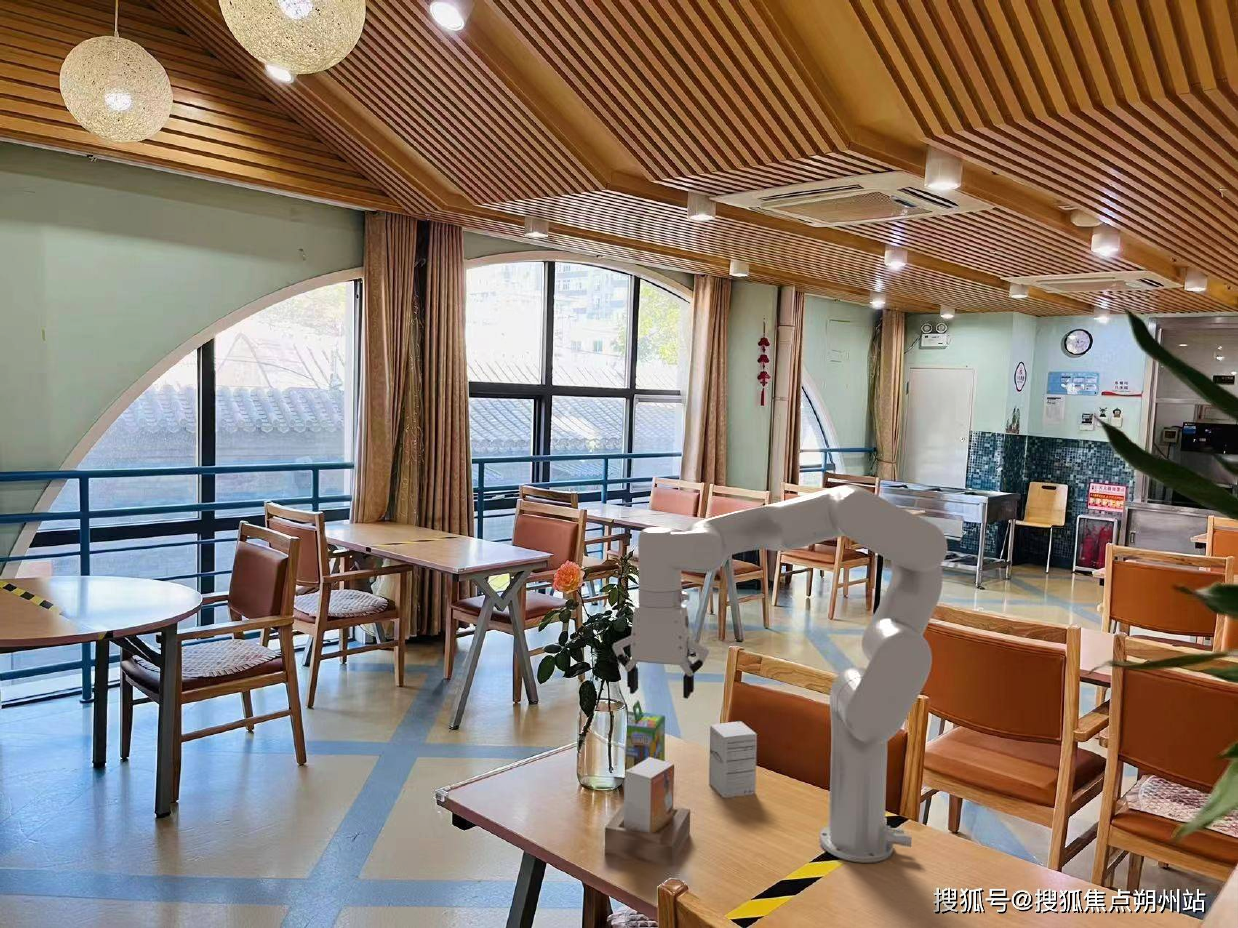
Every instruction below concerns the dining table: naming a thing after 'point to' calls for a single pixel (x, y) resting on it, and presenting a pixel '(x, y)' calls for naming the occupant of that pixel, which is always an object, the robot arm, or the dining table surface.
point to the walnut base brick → (648, 839)
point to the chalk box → (644, 737)
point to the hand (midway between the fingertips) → (660, 693)
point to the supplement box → (732, 759)
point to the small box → (648, 795)
